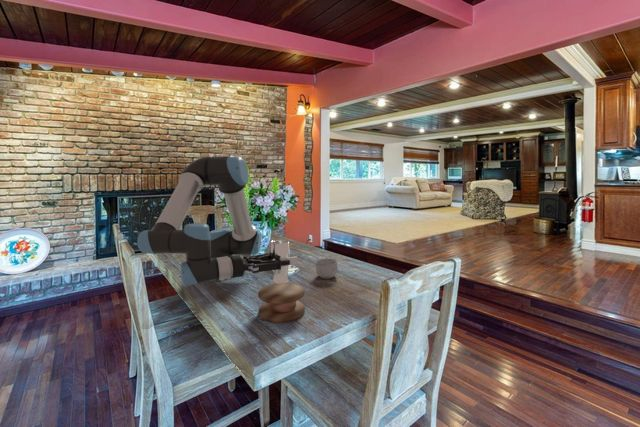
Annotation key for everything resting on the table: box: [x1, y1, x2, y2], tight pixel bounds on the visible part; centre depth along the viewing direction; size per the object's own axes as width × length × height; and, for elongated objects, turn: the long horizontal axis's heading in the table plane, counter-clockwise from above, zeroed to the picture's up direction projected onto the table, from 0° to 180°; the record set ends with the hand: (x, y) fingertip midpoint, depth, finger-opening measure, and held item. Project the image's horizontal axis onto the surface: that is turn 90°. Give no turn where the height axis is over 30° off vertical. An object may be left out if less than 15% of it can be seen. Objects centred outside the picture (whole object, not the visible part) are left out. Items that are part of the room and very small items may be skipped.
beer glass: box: [269, 239, 291, 284], centre depth 116 cm, size 7×7×15 cm
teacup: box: [315, 257, 338, 280], centre depth 157 cm, size 14×11×8 cm
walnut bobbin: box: [257, 282, 306, 324], centre depth 118 cm, size 17×17×8 cm
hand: (293, 257), depth 118 cm, fingers closed on beer glass, 7 cm apart
